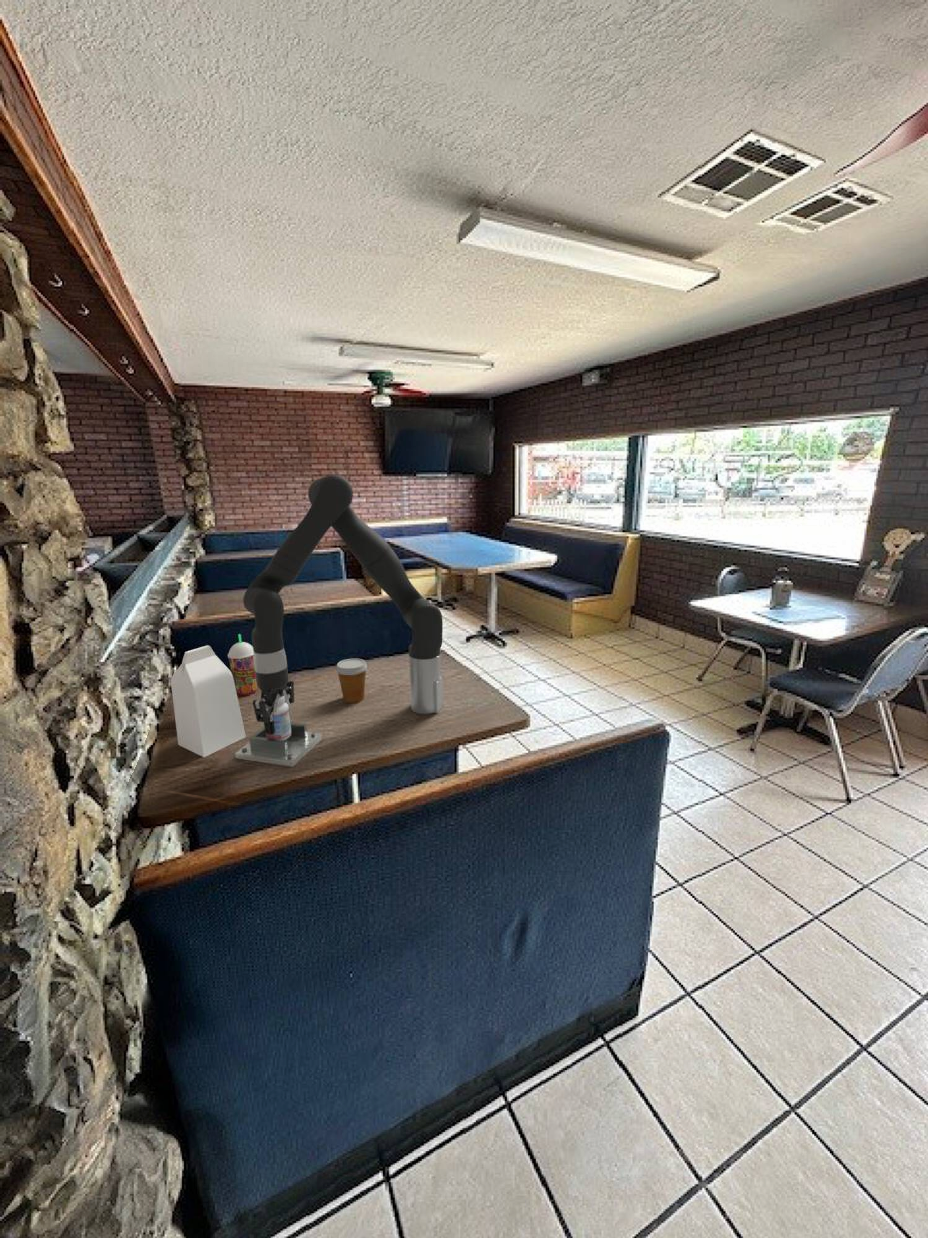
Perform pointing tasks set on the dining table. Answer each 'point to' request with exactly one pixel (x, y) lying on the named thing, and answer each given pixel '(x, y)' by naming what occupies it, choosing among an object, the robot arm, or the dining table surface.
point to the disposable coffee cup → (352, 679)
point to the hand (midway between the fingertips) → (278, 727)
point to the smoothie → (243, 667)
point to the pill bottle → (281, 721)
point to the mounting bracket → (280, 746)
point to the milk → (205, 703)
